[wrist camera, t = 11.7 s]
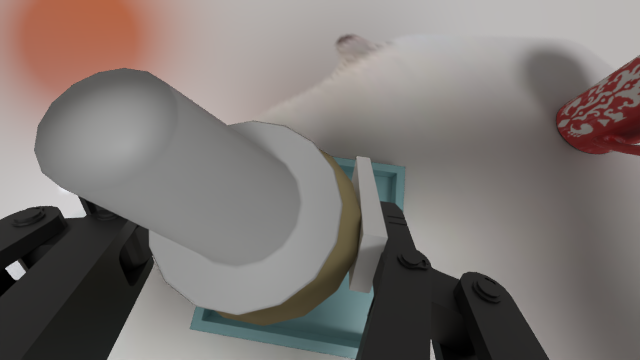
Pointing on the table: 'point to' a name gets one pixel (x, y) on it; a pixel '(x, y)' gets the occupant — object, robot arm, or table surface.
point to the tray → (333, 313)
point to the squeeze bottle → (207, 194)
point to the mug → (605, 114)
